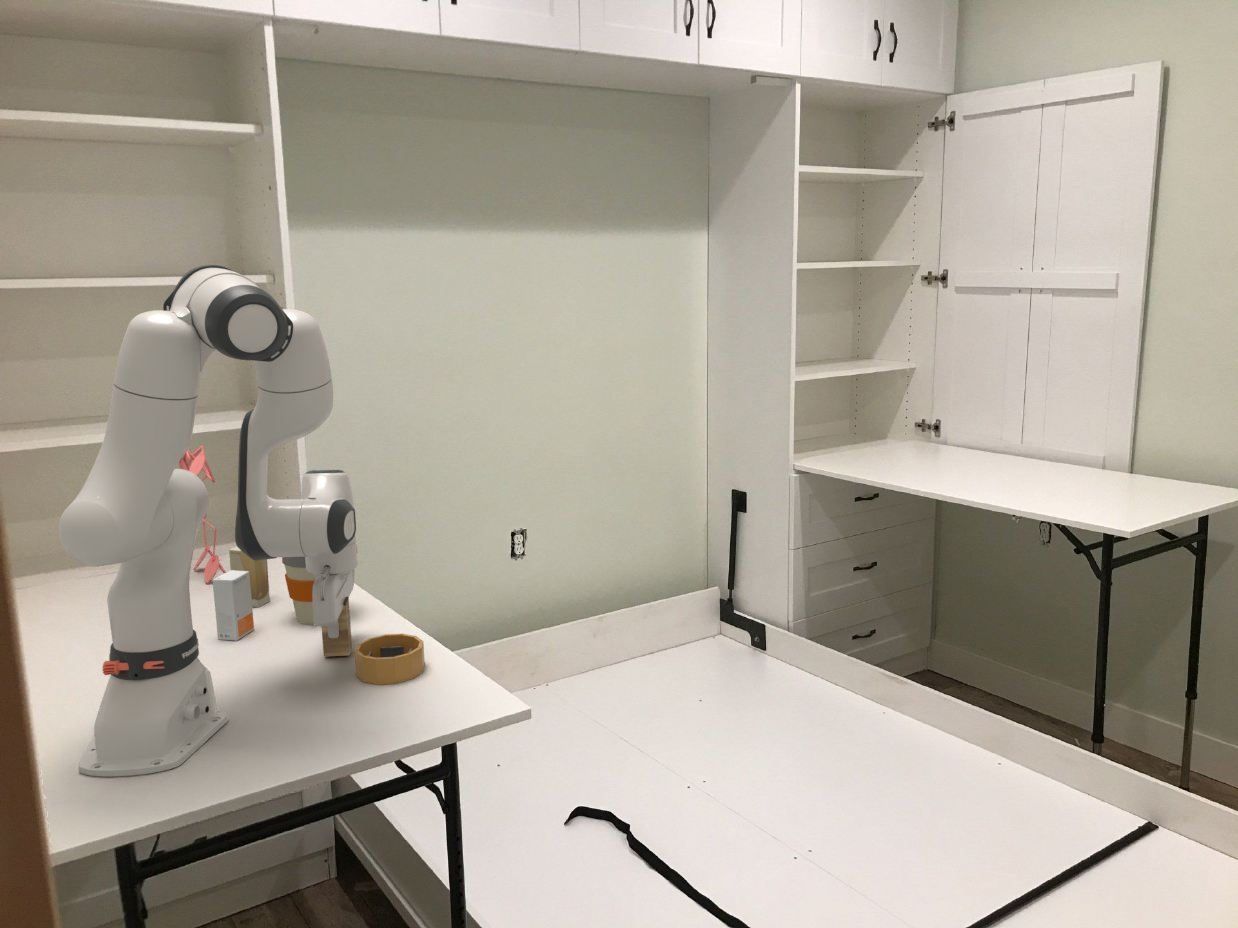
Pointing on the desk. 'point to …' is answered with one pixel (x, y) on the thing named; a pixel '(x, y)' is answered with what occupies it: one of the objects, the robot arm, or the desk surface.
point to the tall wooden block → (344, 641)
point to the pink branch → (196, 469)
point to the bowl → (389, 659)
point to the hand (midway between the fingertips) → (336, 631)
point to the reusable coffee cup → (300, 588)
